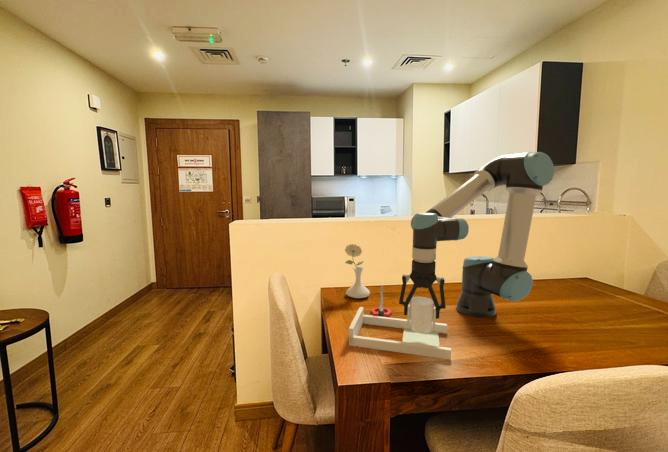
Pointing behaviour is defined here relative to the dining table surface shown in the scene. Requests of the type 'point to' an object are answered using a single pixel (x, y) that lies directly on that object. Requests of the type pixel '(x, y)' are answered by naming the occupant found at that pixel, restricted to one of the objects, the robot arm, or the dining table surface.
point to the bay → (410, 343)
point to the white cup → (421, 314)
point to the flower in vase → (357, 288)
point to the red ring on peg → (381, 307)
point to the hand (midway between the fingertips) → (420, 325)
